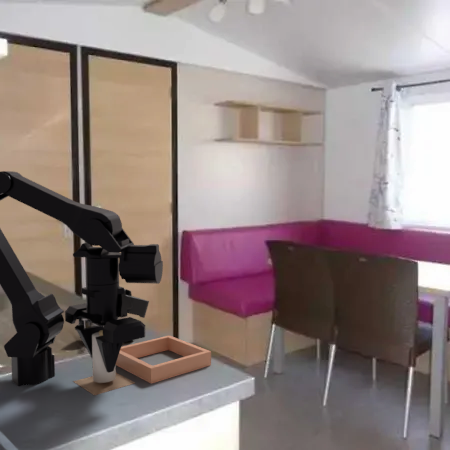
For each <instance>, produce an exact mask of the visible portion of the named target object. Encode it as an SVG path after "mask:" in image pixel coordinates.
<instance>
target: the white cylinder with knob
mask: <svg viewBox="0 0 450 450" xmlns="http://www.w3.org/2000/svg"><path fill="white" fill-rule="evenodd" d="M99 336H103V330H101V331H99V332H97V333H94V334H92V358H91V360H92V376H93V381H95V382H98V383H106V382H110V381H113V380H115V379H116V373H117V371H116V369H117V368H116V367H117V365H115V368H114V371H113V372H109V373H108V372H107V371H106V368H105V365H104V362H103V359H102V356H101V353H100V350H99V347H98V344H97V341H96V337H99Z"/></svg>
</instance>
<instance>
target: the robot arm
mask: <svg viewBox="0 0 450 450" xmlns="http://www.w3.org/2000/svg"><path fill="white" fill-rule="evenodd" d="M8 197H9V198H11V199H13V200H16V201H17V202H19V203H22V204H24V205H25V206H28V207H30V208H32V209H34V210H36V211H38V212H39V213H42V214H45V215H46V216H49V217H51V218H53V219H55V220H57V221H59V222H60V223H62V224H63V225H65V226H66V227H67V228H68V229H69V230H70V231H71V232H72V233H73V234H74V235H75V236H77V237H78V238H80V239H81V240H82V241H84V243H83V242H82V244H81V245H80V246H79V248H78V249H77V250H76V251H75V252H73V253H72V256H73V257H74V258H84V259H85V260H84V261H85V263H84V264H85V287H81V294H82V295H85V300H86V301H85V303H80V304H73V305H69V306H68V307H67V309H66V310H65V311H64V310H63V308H61V307H60V306H59V304H58V301H57V300H56V297H55V295H54V294H53V293H49V294H48V295H46V296H45V295H44V294H42V293H41V292H40V291H38V290H37V288H36V287H35V285H34V284H33V282H32V280H31V279H30V276H29V275H28V273H27V271H26V269H25V268H24V266H23V265H22V263H21V262H20V260H19V258H18V256H17V255H16V253H15V251H14V250H13V248H12V245H11V244H10V243H9V241H8V239H7V238H6V236H5V234H4V232H3V231H2V229H1V228H0V287H1V289H2V290H3V292H4V294H5V296H6V297H7V299H8V301H9V302H10V305H11V316H12V324H13V326H14V329H15V331H16V333H15V334H14V335H13V336H12V337H11V338H10V339H9V340H8V341H7V342H6V343H5V344H4V345H3V349H4V351H5V353H6V356H7V358H11V361H10V363H11V382H12V383H13V384H15V386H17V387H22V386H34V385H39V384H42V383H45V382H46V381H48V380H49V379H52V378H53V377H55V376H56V368H55V367H56V364H55V361H56V360H55V359H56V358H55V355H54V354H53V351H52V349H53V348H52V347H50V345H53V344H54V343H55V340H56V337H57V336H58V335H59V334H60V333H61V332H62V331H63V327H64V325H65V322H67V323H69V324H70V325H72V324H73V325H74V324H75V323H76V321H77V320H78V324H79V326H76V325H75V326H74V330H75V331H76V332H77V334H78V335H79V338H80V337H81V338H80V339H81V341H82V342H83V344H84V346H85V349H86V351H87V352H88V354H89V357H90V358H91V359H92V334H94V333H97V332H99V331H101V330H103V336H99V337H96V341H97V344H98V347H99V350H100V353H101V356H102V359H103V362H104V365H105V368H106V371H107V372H108V373H109V372H113V371H114V368H115V365H116V361H117V358H118V355H119V352H120V349H121V347H123V344H124V343H128V342H131V341H136V340H139V339H143V338H145V337H146V324H145V323H144V322H143V321H142V320H140V319H136V318H134V317H131V316H128V314H130V315H135V316H138V317H140V318H142V319H144V318H145V317H146V314H147V311H148V307H149V303H150V301H149V300H146V299H143V298H140V297H136V296H133V295H132V290H130V289H126V288H125V287H122V286H120V277H121V280H124V281H125V283H127V284H152V285H153V284H157V285H159V284H160V282H161V281H162V277H163V270H164V262H163V260H162V255H161V252H160V245H159V244H158V243H151V244H135V243H134V241H133V240H132V239H131V238H130V237H129V235H128V234H127V232H126V231H125V229H123V223H122V220H121V217H120V216H119V215H118V214H117V213H116V212H115V211H113V210H109V209H105V208H102V207H99V206H95V205H89V204H86V203H85V204H84V203H81V202H77V201H75V200H73V199H71V198H68V197H66V196H64V195H62V194H60V193H58V192H56V191H54V190H52V189H50V188H48V187H46V186H44V185H41V184H40V183H38V182H35V181H33V180H31V179H29V178H27V177H25V176H23V175H22V174H20V173H19V172H18V171H14V170H13V171H9V170H7V171H6V170H5V171H4V170H3V171H0V202H1V201H4V199H6V198H8ZM63 313H64V315H65V316H64V315H63ZM64 318H65V319H64ZM119 318H120V319H119ZM127 341H128V342H127ZM116 366H117V365H116Z"/></svg>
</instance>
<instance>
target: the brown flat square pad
mask: <svg viewBox="0 0 450 450" xmlns="http://www.w3.org/2000/svg"><path fill="white" fill-rule="evenodd" d="M72 382H73V383H75V385H77V386H79V387H80V388H82V389H83V390H85V391H87V392H88V393H89V394H91V395H93V396H95V397H96V396H98V395H101V394H105V393H108V392H112V391H115V390H117V389H121V388H124V387H125V388H126V387H128V386H131V385H133V384H136V382H135V381H133V380H131V379H129V378H128V377H126V376H123V375H122V374H120V373H118V372H116V379H115V380H113V381H110V382H106V383H98V382H95V381H93V375H92V376H89V377H85V378H81V379H76V380H73V381H72Z"/></svg>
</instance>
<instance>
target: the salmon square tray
mask: <svg viewBox="0 0 450 450" xmlns="http://www.w3.org/2000/svg"><path fill="white" fill-rule="evenodd" d="M166 351H170V352H172V353H174V354H177V355H180V356H182V357H179V358H176V359H172V360H169V361H168V360H167V361H165V362H161V363H157V364H154V365H152V364H150V363H147V362H146V361H144V360H142V359H139V358H142V357H146V356H149V355H154V354H157V353H162V352H166ZM210 366H212V351H211V350H208V349H206V348H203V347H200V346H199V345H195V344H193V343H190V342H188V341H184V340H182V339H180V338H177V337H174V336H172V335H164V336H161V337H158V338H153V339H149V340H144V341H140V342H136V343H132V344H128V345H124V346H123V345H122V347H121V349H120V352H119V355H118V358H117V361H116V367H119V368H120V369H122V370H125V371H127V372H128V373H130V374H132V375H134V376H136V377H137V378H140V379H142V380H143V381H145V382H147V383H149V384H155V383H157V382H161V381H163V380H164V381H165V380H167V379H170V378H174V377H176V376H180V375H183V374H187V373H191V372H193V371H196V370H200V369H203V368H205V367H206V368H207V367H210Z"/></svg>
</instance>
